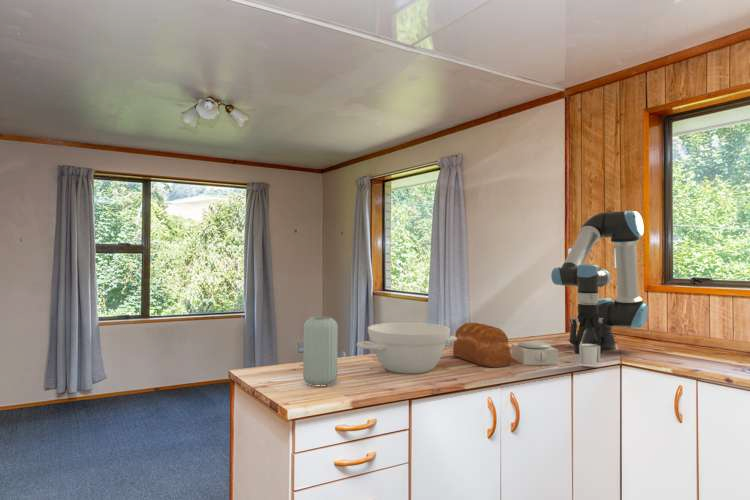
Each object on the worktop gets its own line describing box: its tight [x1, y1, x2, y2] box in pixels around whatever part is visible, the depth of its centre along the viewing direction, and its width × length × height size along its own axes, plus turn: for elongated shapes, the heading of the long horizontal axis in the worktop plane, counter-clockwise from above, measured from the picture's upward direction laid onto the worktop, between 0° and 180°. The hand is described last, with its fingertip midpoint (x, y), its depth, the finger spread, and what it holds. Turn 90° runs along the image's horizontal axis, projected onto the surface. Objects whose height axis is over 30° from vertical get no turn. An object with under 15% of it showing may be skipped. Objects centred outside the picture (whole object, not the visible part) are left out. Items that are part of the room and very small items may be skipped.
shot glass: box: [580, 343, 598, 365], centre depth 195 cm, size 7×7×7 cm
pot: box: [356, 321, 457, 375], centre depth 190 cm, size 44×32×16 cm
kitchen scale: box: [511, 340, 559, 366], centre depth 205 cm, size 15×14×7 cm
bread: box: [452, 322, 512, 368], centre depth 206 cm, size 14×26×16 cm, turn 24°
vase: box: [302, 316, 339, 386], centre depth 167 cm, size 12×12×22 cm
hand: (588, 361), depth 195 cm, fingers closed on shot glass, 7 cm apart
